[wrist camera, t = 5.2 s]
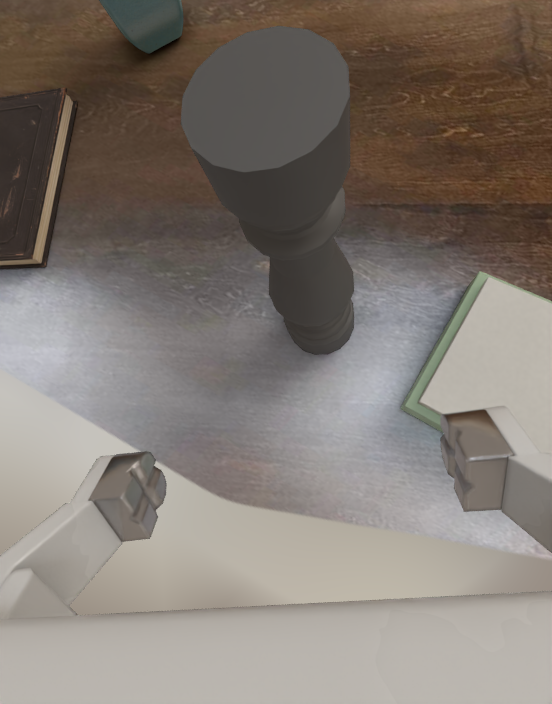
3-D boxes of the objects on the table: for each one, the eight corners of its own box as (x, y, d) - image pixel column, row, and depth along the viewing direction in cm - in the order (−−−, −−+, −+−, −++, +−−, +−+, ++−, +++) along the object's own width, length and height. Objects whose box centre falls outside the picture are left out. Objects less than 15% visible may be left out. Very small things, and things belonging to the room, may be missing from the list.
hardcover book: (78, 102, 49) (65, 86, 47) (46, 267, 44) (30, 257, 42) (-24, 117, 52) (-41, 103, 50) (-65, 272, 47) (-85, 264, 45)
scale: (547, 491, 30) (576, 498, 26) (399, 408, 33) (406, 404, 29) (618, 350, 31) (656, 337, 27) (469, 284, 34) (483, 265, 31)
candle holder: (367, 329, 35) (401, 95, 11) (312, 367, 35) (233, 216, 11) (328, 280, 37) (286, -10, 13) (276, 317, 37) (142, 96, 13)
